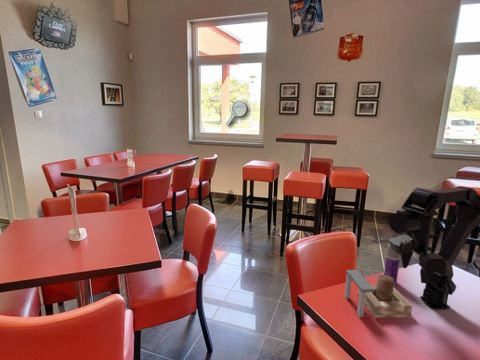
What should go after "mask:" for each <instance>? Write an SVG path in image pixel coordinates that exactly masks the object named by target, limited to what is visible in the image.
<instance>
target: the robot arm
mask: <svg viewBox="0 0 480 360" xmlns="http://www.w3.org/2000/svg"><path fill="white" fill-rule="evenodd" d="M451 203H454V205H455V207H456V209H455V216H456V221H455V223H454V225H453V227H452V228H451V230H450V232H449V234H448V235H447V237H446V238H445V240H444V242H443V244H442V245H441V248H439V250H438V252H437V253H433V252H431V251H432V250H433V247H431V246H430V241H431V239H434V238H435V237H434V236H435V235H434V234H433V233H432V227H433V220H434V216H438V215H439V212H438V211H437V210H438V209H441V208H442V207H443V205H445V204H451ZM388 221H389V222H388V224H389V227H390V229H391V231H393V233H395V235H394V236H392V237H391V238H389V239H388V241H389V244H390V246H391V249H392V250H394V251H395V252H396V253H397V254H400V262H401V265H402V268H403V269H407V268H408V266H409V264H410V261H411V260H412V257H413V255H414V253H415V254H417V255H419V256H418V261H419V262H417V265H418V266H419V267H420V270H419V274H420V283H421V284H425V285H424V289H423V293H422V295H421V296H419V299H421V300H422V301H423V302H424V303H425V304H426V305H427V306H429V308H430V309H434V310H437V309H439V310H440V309H441V310H442V309H446V310H447V309H451V306H450V305H449V304H448V300H449V299H448V298H449V295H451V296H452V295H453V294H454V293H455V292H456V289H457V284H456V283H455V282H454V281H453V277H454V269H453V264H454V262H455V260H456V259H457V257H458V256H459V254H460V252H461V250H462V248H463V247H464V245H465V243H466V241H467V240H468V238H469V237H470V235H471V233H472V231H473V229H475V228H476V227H478V226H480V194H478V192H477V190H476V189H474V188H472V187H467V186H466V187H465V186H461V185H460V186H459V185H458V186H455V187H449V188H440V189H429V188H423V187H422V188H421V187H416V188H414V189H413V190H412V191H411V192H410V194H409V195H408V196H407V198H406V200H405V201H404V202H403V204H402V205H401V209H397V210H396V213H394V214H392V215H391V216H390V218H389V220H388ZM429 251H430V252H431V253H429Z"/></svg>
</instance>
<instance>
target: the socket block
mask: <svg viewBox="0 0 480 360" xmlns="http://www.w3.org/2000/svg"><path fill="white" fill-rule="evenodd" d="M370 285H371V286H372V287H373V288H374V289H375V291H374V292H366V296H365V305H364V307H366V309H367V310H368V311H369V312H370V314H371V315H372V317H373V318H374V319H375V318H377V319H380V318H381V319H386V318H411V317H412V312H413V305H412V304H411V303H410V301H408V300H407V299H406V298H405V297H404V296H403V295H402V294H401V293H400V292H399V291H398V290H397V289H396V288H395V287H394V288H393V295H392V301H384V302H379V301H378V299H377V298H376V297H375V295H376V287H377V284H375V285H372V284H370ZM359 290H360V289H359V288H358V287H357V298H359Z"/></svg>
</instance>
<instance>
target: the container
mask: <svg viewBox="0 0 480 360" xmlns="http://www.w3.org/2000/svg"><path fill="white" fill-rule="evenodd" d="M384 262H385V263H384V269H383V275H387V276H390V277H392V278H393V279H394V286H395V285H396V284H397V281H398V274H399V268H400V262H401V256H400V254H397V253H396V252H395V251H394V250H392V249H391V246H390V243H388V244H387V249H386V256H385V261H384Z"/></svg>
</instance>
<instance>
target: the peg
mask: <svg viewBox="0 0 480 360" xmlns="http://www.w3.org/2000/svg"><path fill="white" fill-rule="evenodd" d="M376 285H377V287H376V295H375V297H376V298H377V299H378V301H379V302H384V301H392V295H393V288H395V287H394V286H395V285H394V279H393V278H392V277H390V276H387V275H384V274H379V275H377V281H376Z"/></svg>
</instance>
